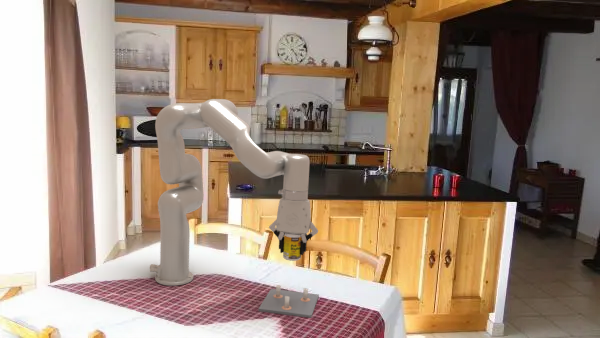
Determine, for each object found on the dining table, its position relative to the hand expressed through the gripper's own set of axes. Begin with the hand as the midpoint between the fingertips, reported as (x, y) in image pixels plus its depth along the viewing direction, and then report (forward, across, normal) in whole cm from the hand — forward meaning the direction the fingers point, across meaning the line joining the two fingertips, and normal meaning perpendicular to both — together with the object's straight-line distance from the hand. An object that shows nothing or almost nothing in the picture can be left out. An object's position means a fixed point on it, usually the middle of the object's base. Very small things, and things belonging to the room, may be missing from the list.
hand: (292, 252), depth 153 cm
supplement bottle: (+2, 0, 0) cm, 2 cm away
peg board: (+17, 0, 0) cm, 17 cm away
